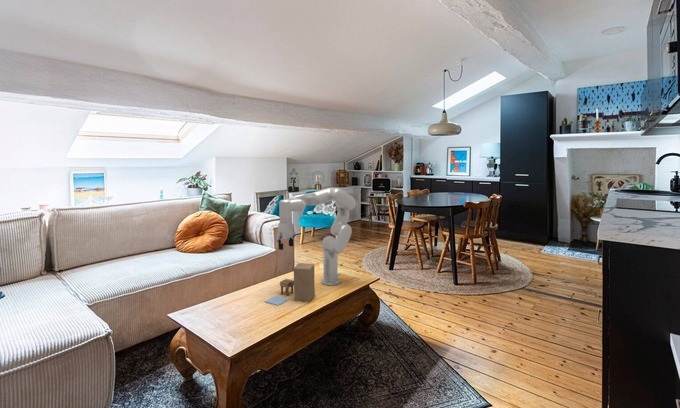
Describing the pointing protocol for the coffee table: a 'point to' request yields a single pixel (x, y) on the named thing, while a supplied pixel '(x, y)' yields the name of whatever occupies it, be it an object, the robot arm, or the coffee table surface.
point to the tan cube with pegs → (287, 285)
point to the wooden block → (304, 282)
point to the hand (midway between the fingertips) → (286, 247)
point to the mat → (276, 300)
